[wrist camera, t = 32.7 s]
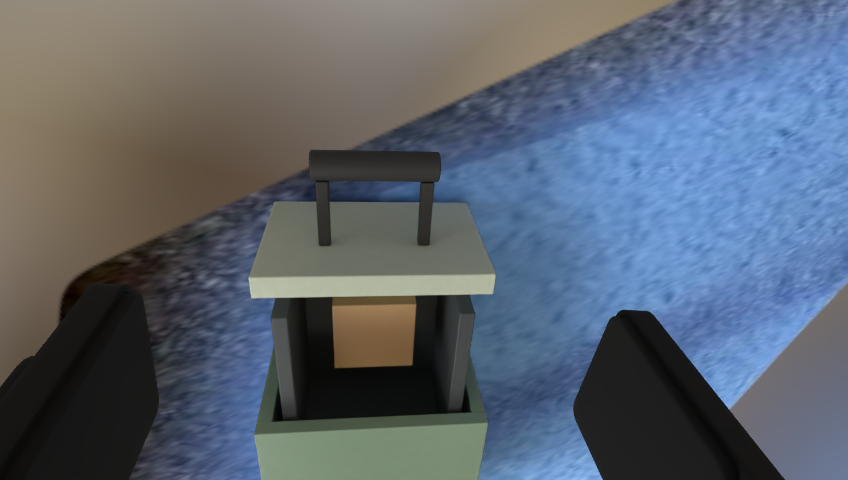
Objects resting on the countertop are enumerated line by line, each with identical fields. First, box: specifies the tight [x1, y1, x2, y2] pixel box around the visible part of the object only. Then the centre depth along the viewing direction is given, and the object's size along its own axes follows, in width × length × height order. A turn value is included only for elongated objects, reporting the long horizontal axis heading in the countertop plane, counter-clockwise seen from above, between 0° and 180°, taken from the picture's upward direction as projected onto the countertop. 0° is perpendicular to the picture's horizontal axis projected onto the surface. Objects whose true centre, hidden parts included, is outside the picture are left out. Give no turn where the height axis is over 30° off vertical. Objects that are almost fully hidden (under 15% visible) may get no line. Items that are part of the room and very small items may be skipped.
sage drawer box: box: [254, 347, 488, 480], centre depth 35 cm, size 15×13×10 cm
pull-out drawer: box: [249, 150, 496, 421], centre depth 28 cm, size 18×11×8 cm, turn 177°
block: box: [332, 295, 417, 368], centre depth 30 cm, size 4×4×4 cm
